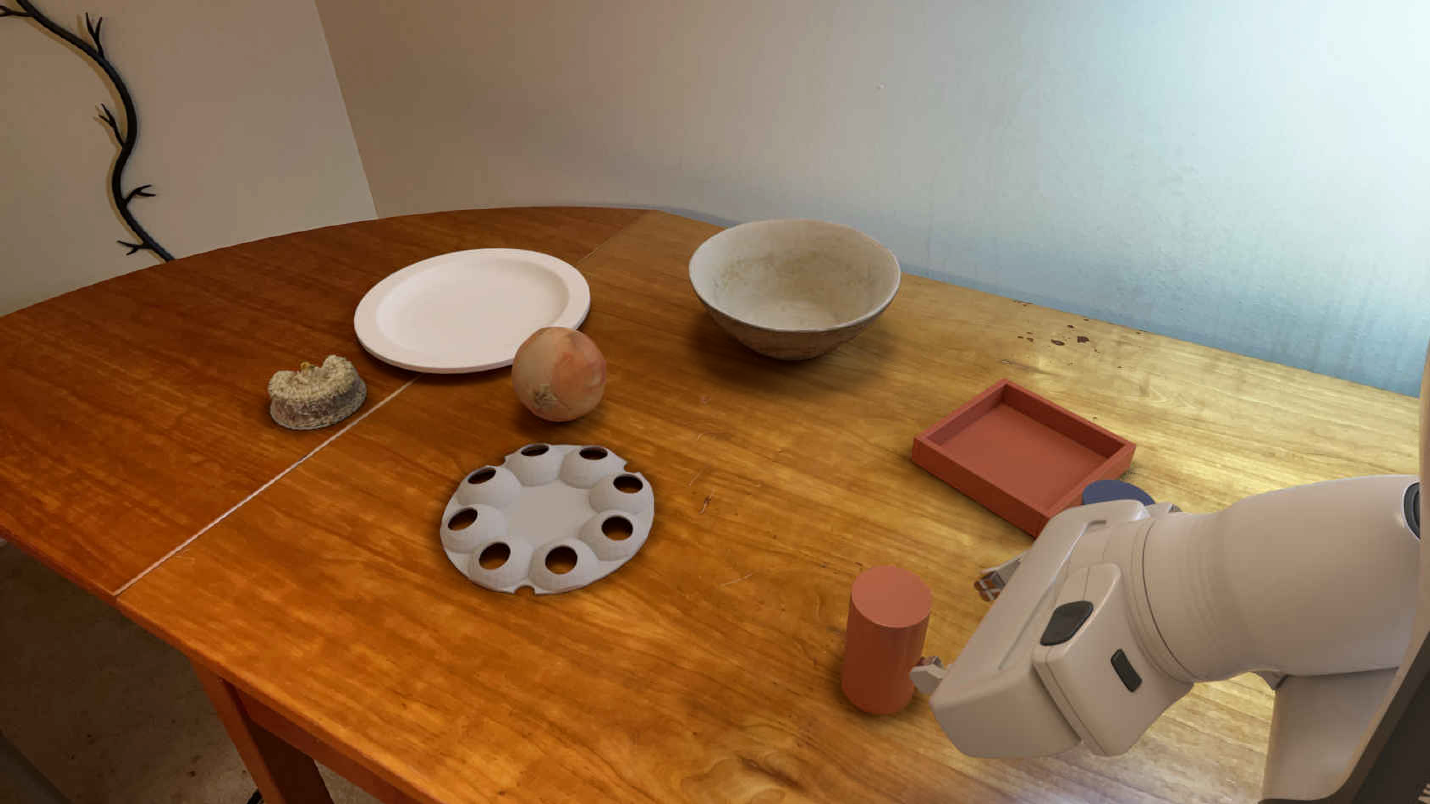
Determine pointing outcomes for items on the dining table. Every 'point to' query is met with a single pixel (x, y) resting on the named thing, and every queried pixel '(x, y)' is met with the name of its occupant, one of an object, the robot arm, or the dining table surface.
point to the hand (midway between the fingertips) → (951, 629)
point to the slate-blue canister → (1113, 493)
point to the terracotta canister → (884, 638)
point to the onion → (559, 374)
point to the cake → (316, 394)
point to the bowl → (794, 284)
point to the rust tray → (1020, 454)
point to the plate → (468, 309)
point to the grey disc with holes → (547, 518)
